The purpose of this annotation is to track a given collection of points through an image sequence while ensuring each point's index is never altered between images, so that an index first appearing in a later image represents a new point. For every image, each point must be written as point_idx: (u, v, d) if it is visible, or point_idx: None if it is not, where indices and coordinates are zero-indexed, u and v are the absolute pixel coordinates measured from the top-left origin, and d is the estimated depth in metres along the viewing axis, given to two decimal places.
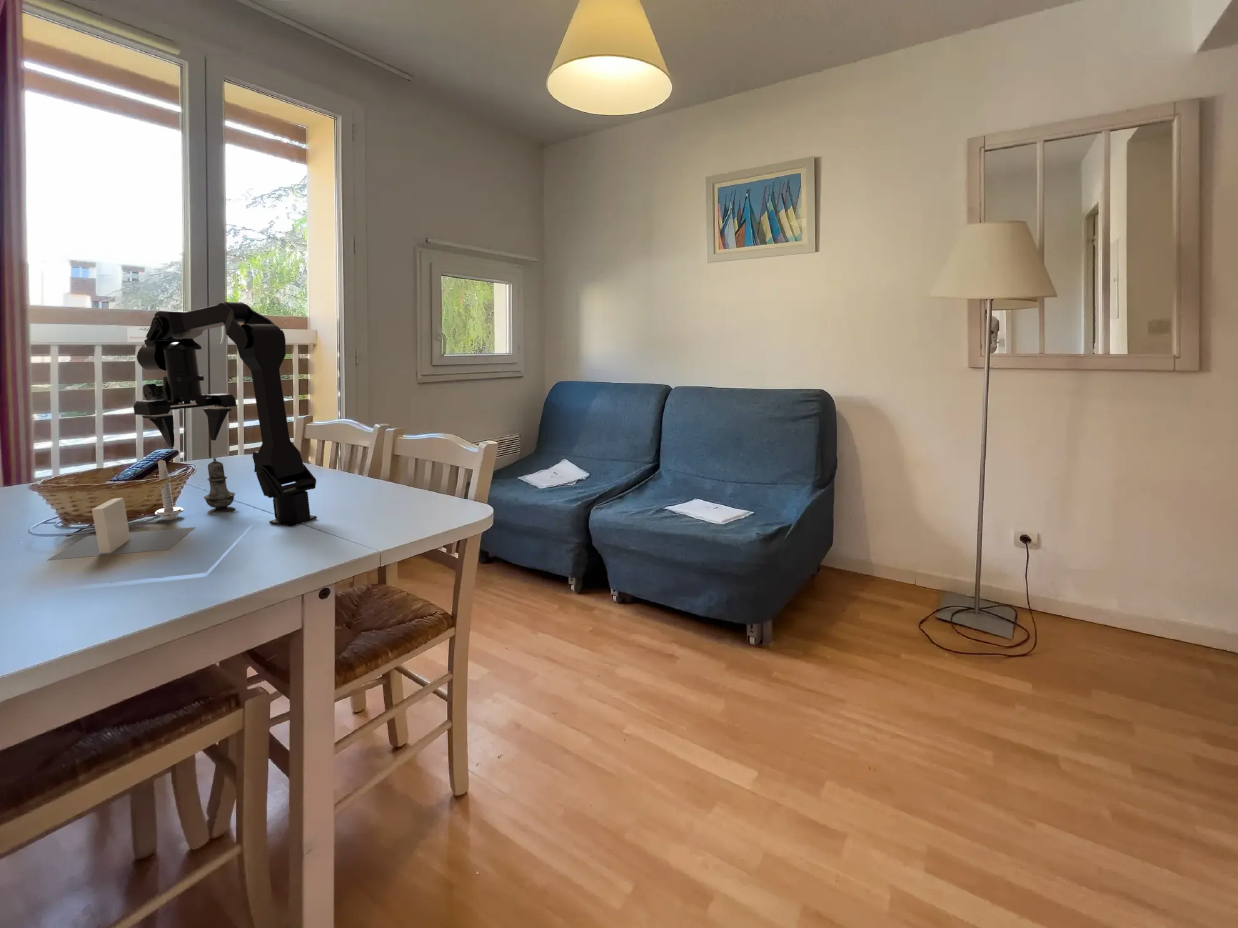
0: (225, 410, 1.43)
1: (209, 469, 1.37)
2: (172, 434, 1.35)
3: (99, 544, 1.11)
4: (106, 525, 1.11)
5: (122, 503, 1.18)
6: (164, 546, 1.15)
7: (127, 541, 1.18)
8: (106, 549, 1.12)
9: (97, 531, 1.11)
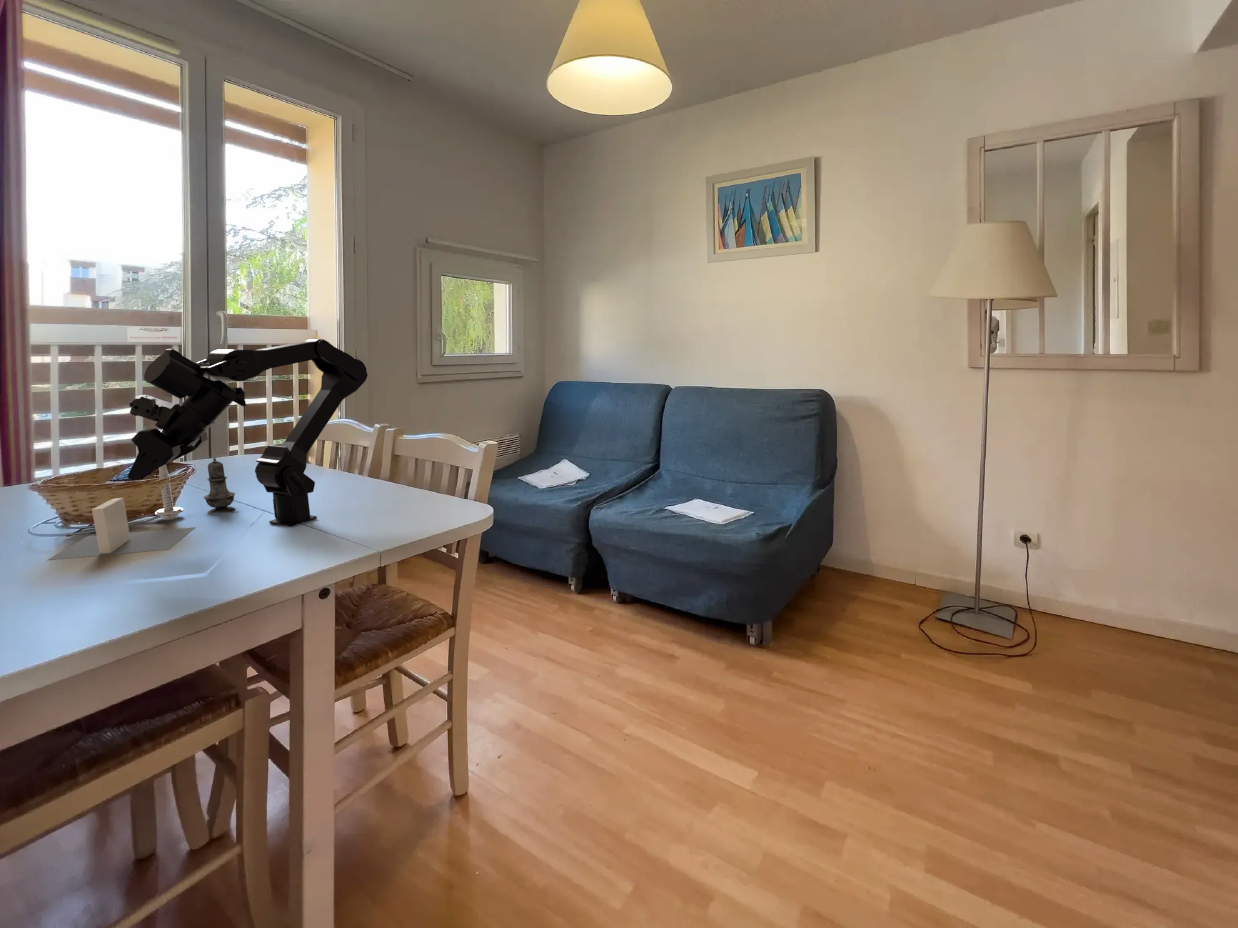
0: None
1: (209, 469, 1.37)
2: None
3: (99, 544, 1.11)
4: (106, 525, 1.11)
5: (122, 503, 1.18)
6: (164, 546, 1.15)
7: (127, 541, 1.18)
8: (106, 549, 1.12)
9: (97, 531, 1.11)
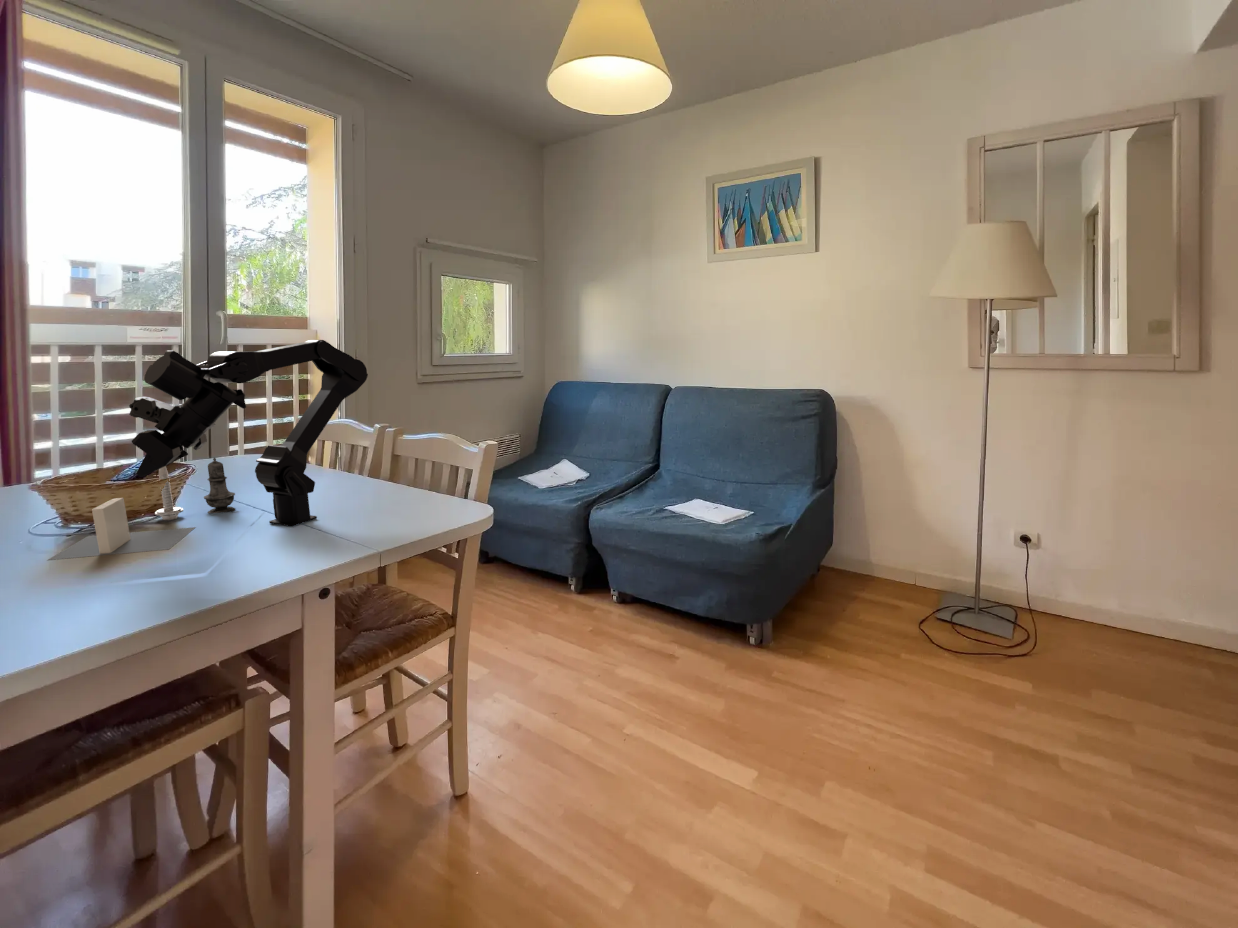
0: (184, 456, 1.18)
1: (209, 469, 1.37)
2: None
3: (99, 544, 1.11)
4: (106, 525, 1.11)
5: (122, 503, 1.18)
6: (164, 546, 1.15)
7: (127, 541, 1.18)
8: (106, 549, 1.12)
9: (97, 531, 1.11)
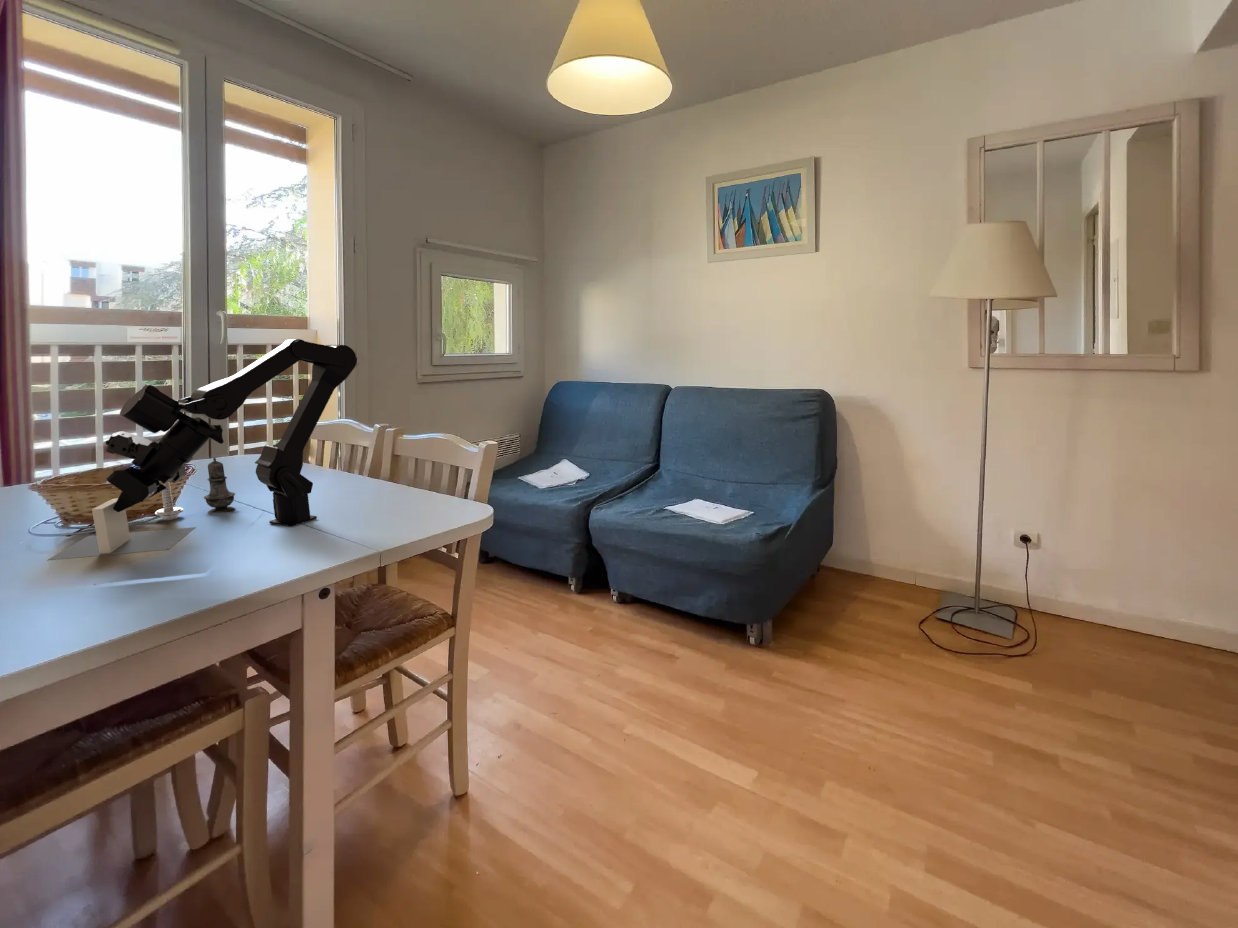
0: (162, 490, 1.18)
1: (209, 469, 1.37)
2: None
3: (99, 544, 1.11)
4: (106, 525, 1.11)
5: None
6: (164, 546, 1.15)
7: (127, 541, 1.18)
8: (106, 549, 1.12)
9: (97, 531, 1.11)
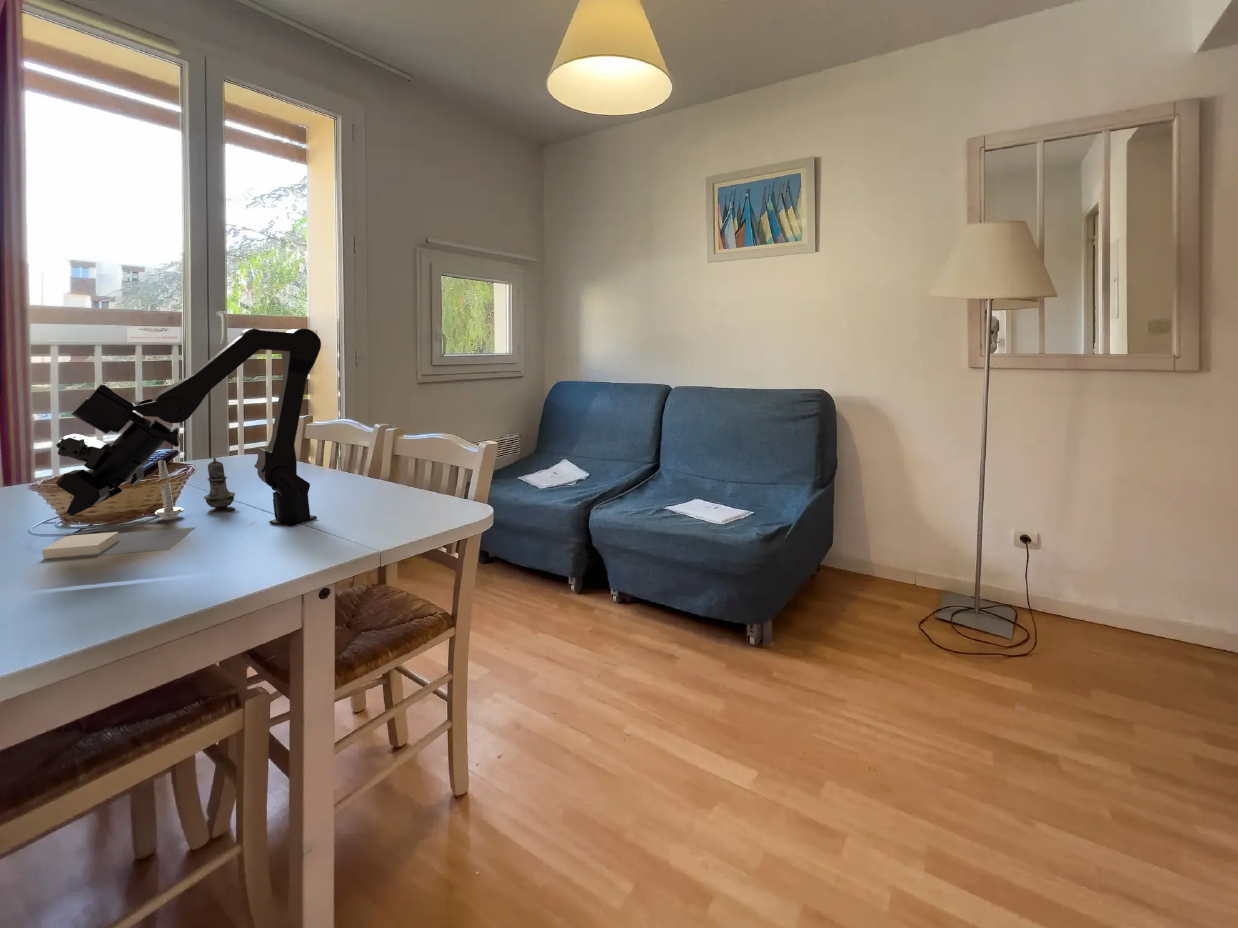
0: (117, 493, 1.16)
1: (209, 469, 1.37)
2: None
3: (87, 553, 1.11)
4: (65, 547, 1.10)
5: (71, 536, 1.16)
6: (164, 546, 1.15)
7: (127, 541, 1.18)
8: (93, 548, 1.11)
9: (70, 554, 1.10)
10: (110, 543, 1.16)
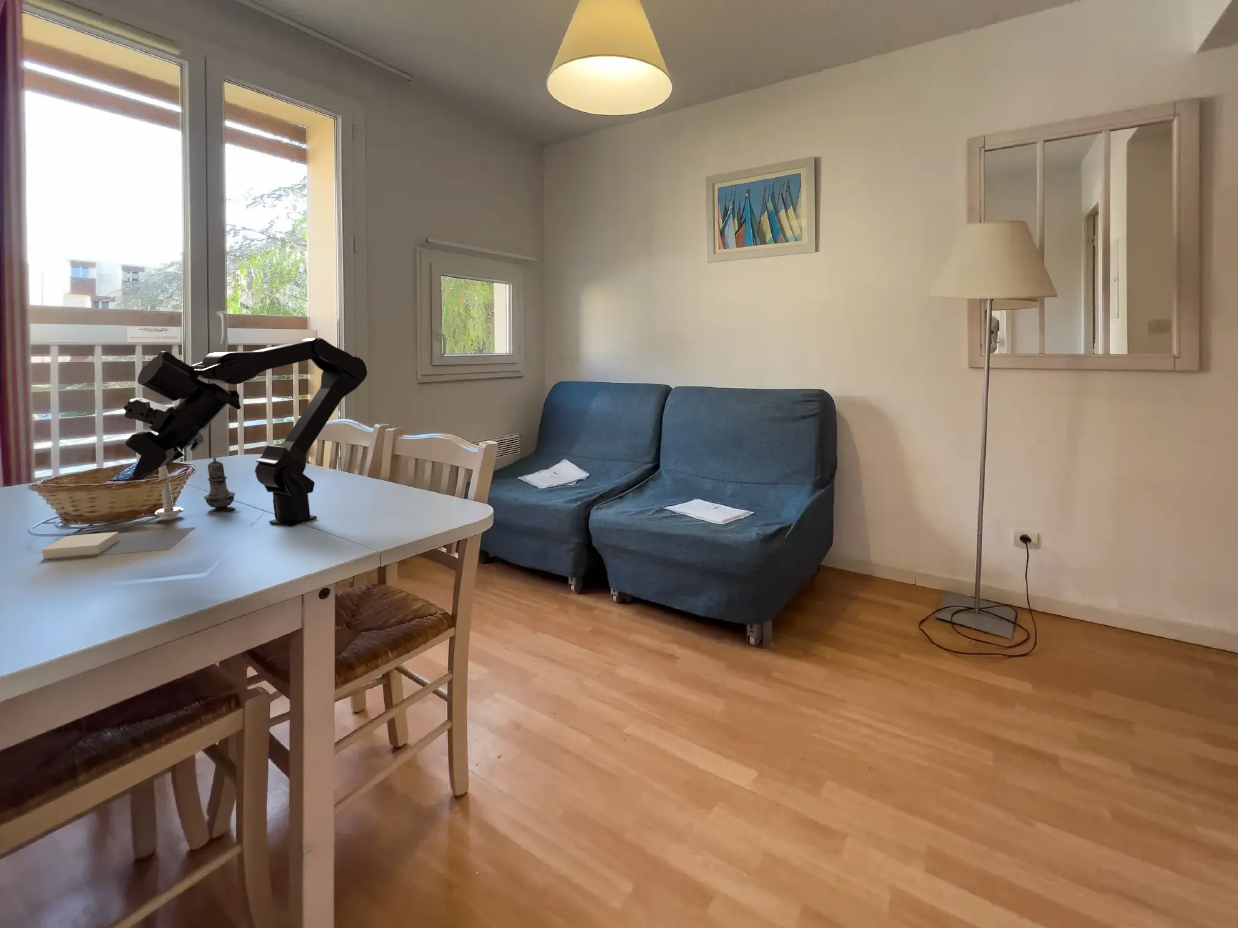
0: (180, 457, 1.18)
1: (209, 469, 1.37)
2: (151, 470, 1.15)
3: (87, 553, 1.11)
4: (65, 547, 1.10)
5: (71, 536, 1.16)
6: (164, 546, 1.15)
7: (127, 541, 1.18)
8: (93, 548, 1.11)
9: (70, 554, 1.10)
10: (110, 543, 1.16)
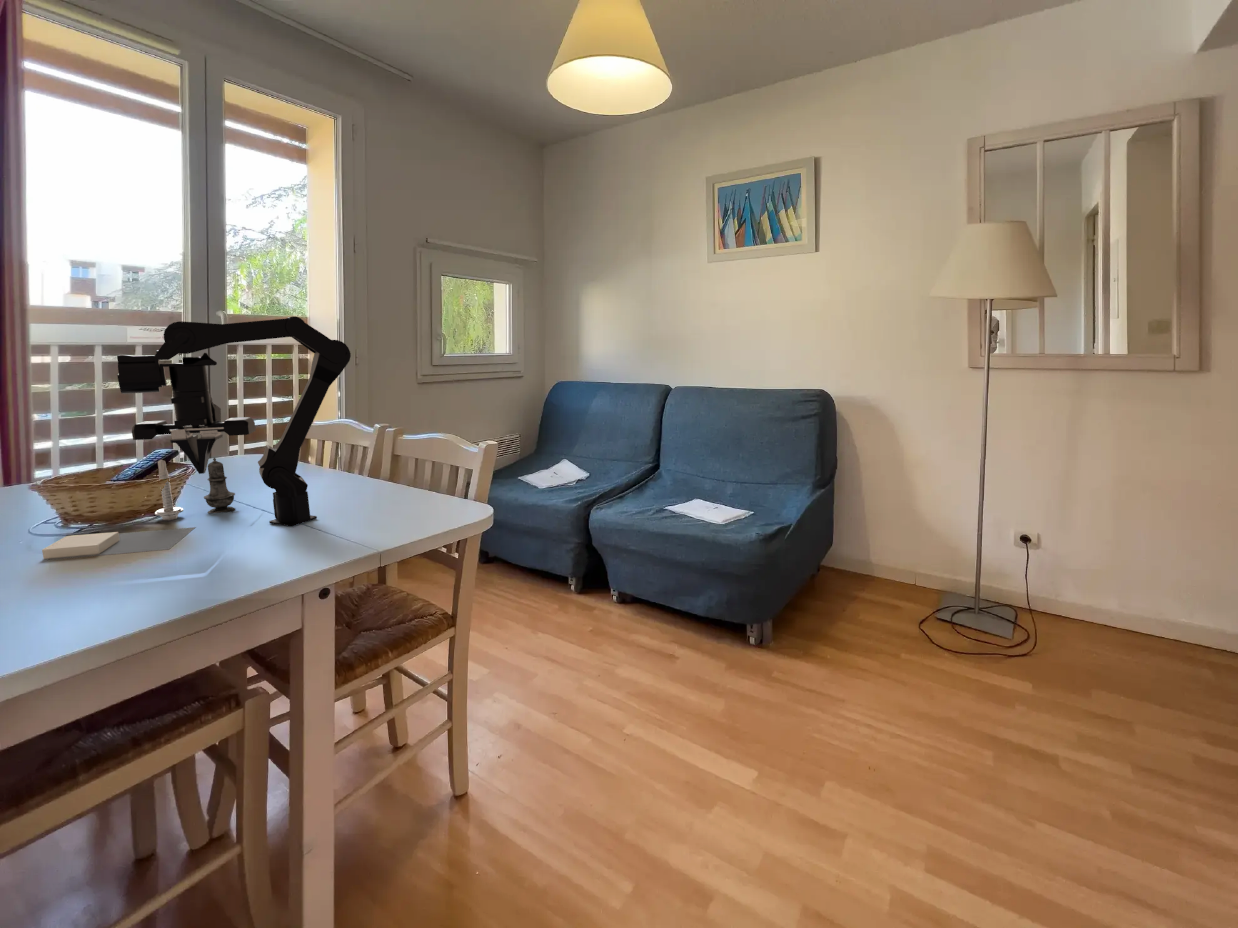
0: (203, 440, 1.18)
1: (209, 469, 1.37)
2: (195, 460, 1.20)
3: (87, 553, 1.11)
4: (65, 547, 1.10)
5: (71, 536, 1.16)
6: (164, 546, 1.15)
7: (127, 541, 1.18)
8: (93, 548, 1.11)
9: (70, 554, 1.10)
10: (110, 543, 1.16)
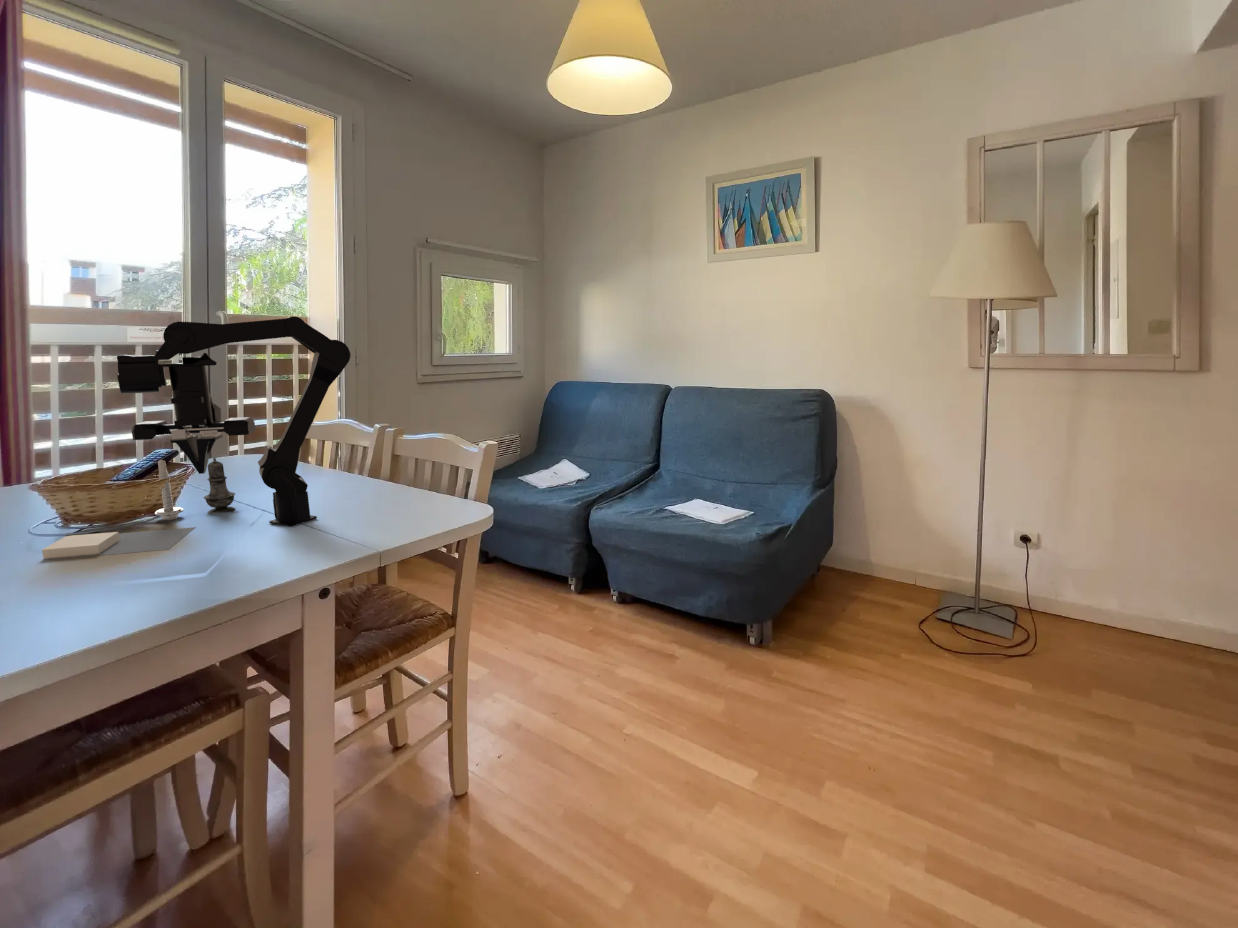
0: (203, 440, 1.18)
1: (209, 469, 1.37)
2: (195, 460, 1.20)
3: (87, 553, 1.11)
4: (65, 547, 1.10)
5: (71, 536, 1.16)
6: (164, 546, 1.15)
7: (127, 541, 1.18)
8: (93, 548, 1.11)
9: (70, 554, 1.10)
10: (110, 543, 1.16)
